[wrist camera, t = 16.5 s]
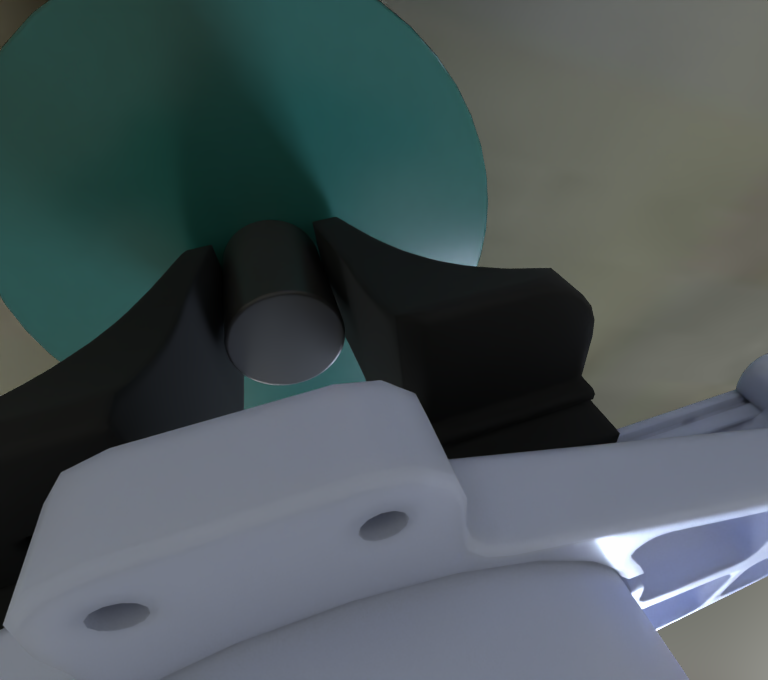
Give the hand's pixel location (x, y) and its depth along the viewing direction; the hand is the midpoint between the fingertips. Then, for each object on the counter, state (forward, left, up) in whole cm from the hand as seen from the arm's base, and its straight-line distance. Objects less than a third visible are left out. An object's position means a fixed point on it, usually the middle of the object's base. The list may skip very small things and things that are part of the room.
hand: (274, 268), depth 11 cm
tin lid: (0, 0, -1) cm, 1 cm away
